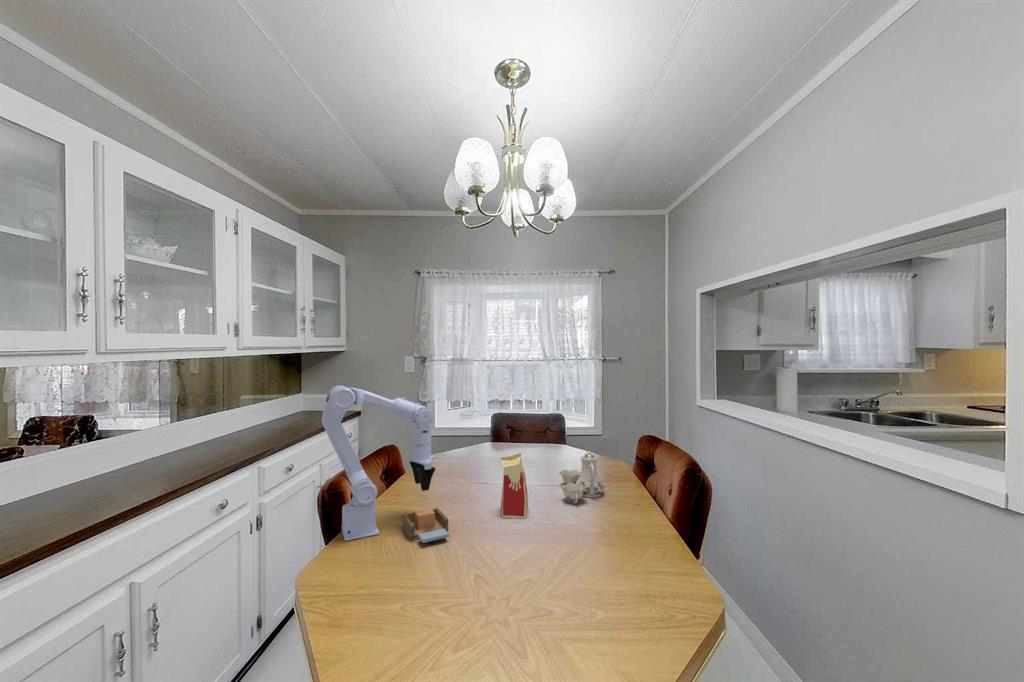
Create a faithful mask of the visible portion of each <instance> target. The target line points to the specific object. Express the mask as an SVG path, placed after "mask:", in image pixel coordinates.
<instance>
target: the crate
mask: <svg viewBox="0 0 1024 682" xmlns="http://www.w3.org/2000/svg"><path fill="white" fill-rule="evenodd" d="M431 509H432V510H433V511H434V512H435V527H430V528H425V529H421V530H418V529H417V527H416V526H415V512H416V511H412V512H408V513H403V514H402V529H403V531H404V533H405V534H406V535H407V537H408V539H409V540H410V541H411V542H413V541H416V540H420V539H419V538H418V534H421V533H426V532H430V531H435V530H439V529H445V530H446V531H447V532H448V533H449V518H448V517H447V516H446V514H444V513H443V512H442V511H441V510H440V509H439V507H433V508H431Z"/></svg>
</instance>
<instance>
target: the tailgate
mask: <svg viewBox="0 0 1024 682" xmlns="http://www.w3.org/2000/svg"><path fill="white" fill-rule="evenodd" d="M418 538H419V539H418V540H419V541H421V543H423V544H425V543H428V542H432V541H437V540H442V539H445V538H450V532H449V531H448V532H447V531H446V530H445V529H439V530H435V531H430V532H426V533H421V534H418Z"/></svg>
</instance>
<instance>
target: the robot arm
mask: <svg viewBox="0 0 1024 682" xmlns="http://www.w3.org/2000/svg"><path fill="white" fill-rule="evenodd" d="M362 404H368V405H371V406H375V407H379V408H382V409H385V410H388V411H389V413H390V415H391V416H392V417H396V418H399V419H402V420H406V421H409V422H413V423H412V426H413V427H412V459H411V461H409V462H408V463H409V466H410V467H411V469H412V472H413V474H412V475H413V478H414V481H415V485H417V484H420V490H421V491H422V492H425V491H429V489H430V487H431V486H430V485H431V482H432V478H433V475H434V473H435V471H436V467H435V466H432V461H433V460H435V459H436V457H435V455H432V423H433V421H434V418H435V415H434V413H433V410H432V409H431V408H430V407H427V406H424V405H422V404H421V403H420V402H414V401H409V400H407V397H403V396H401V398H400V397H396V398H394V399H390V398H388V397H387V398H386V397H384V396H381V395H379V394H375V393H373V392H370V391H368V390H364V389H361V388H357V387H347V386H345V385H341V384H340V385H335V386H333V387H332V388H331V389H330V390H329V392H328V393H327V395H326V397H325V399H324V406H323V410H322V417H321V423H322V427H323V428H324V430H325V432H326V434H327V436H328V438H329V441H330V443H331V445H332V447H333V449H334V451H335V453H336V455H337V457H338V459H339V462H340V464H341V465H342V467H343V470H344V471H345V474H346V475H347V478H348V480H349V490H350V492H351V494H352V498H351V500H350V501H349V503H347V504H343V505H342V510H341V513H342V514H341V518H342V519H341V533H342V536H343V540H344V541H345V542H347V541H352V540H356V539H361V538H366V537H370V536H371V537H372V536H377V535H379V534H380V531H379V529H378V527H377V495H378V488H377V486H376V485H375V484H374V483H373V481H372V479H371V478H370V477H369V476H368V475H367V473H366V471H365V470H364V468H363V466H362V464H361V462H360V459H359V457H358V456H357V454H356V451H355V449H354V446H353V445H352V443H351V441H350V438H349V437H348V435H347V433H346V430H345V428H344V426H343V424H342V420H343V418H345V415H346V413H347V412H348V410H350V409H351V408H352V407H353V406H354V405H355V406H360V405H362Z"/></svg>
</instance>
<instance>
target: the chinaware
mask: <svg viewBox="0 0 1024 682" xmlns="http://www.w3.org/2000/svg"><path fill="white" fill-rule="evenodd" d="M580 460H581V470H580V471H578V470H576V469H571V470H568V469H563V470H561V471H559V475H560V476H561V478H562V482H563V483H565V484H561V486H560V488H561V490H562V493H563V495H564V498H566V500H568V503H570V504H577V503H578V502H579V500H580V499H581V498H582V497H583V498H588V499H590V498H591V499H594V498H599V497H601V496H602V494H601V493H602V492H603V489H605V485H604V483H603V481H602V480H601V478H600V476H599V474H598V468H597V461H598V457H597V456H594V454H593V453H592V452H591V451H590V450H588V451H587V452H586V453H584V455H583V456H580Z"/></svg>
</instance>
